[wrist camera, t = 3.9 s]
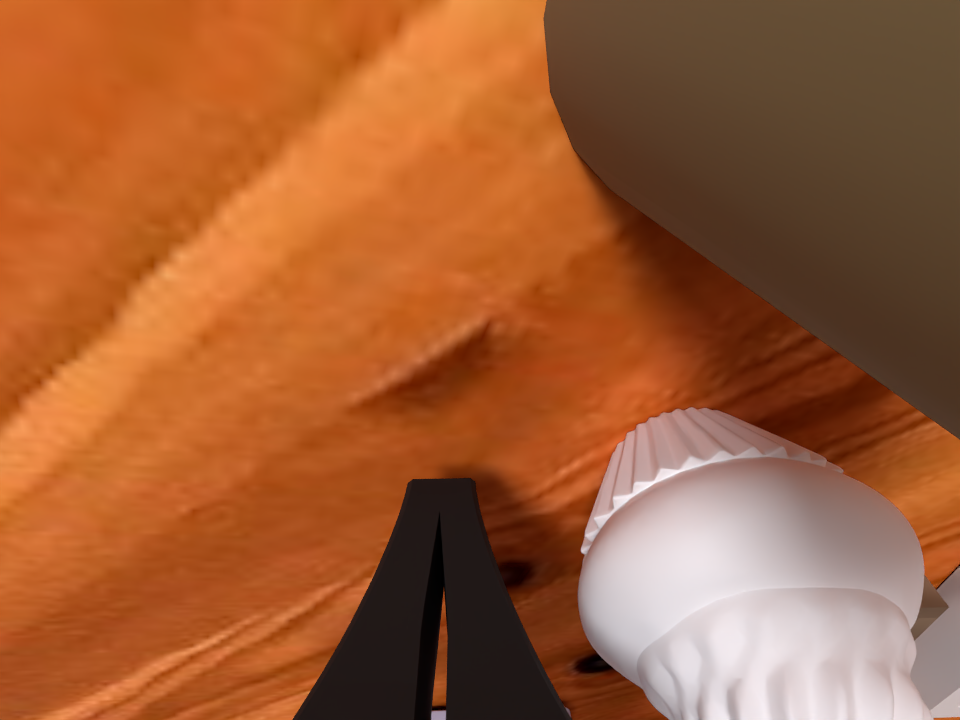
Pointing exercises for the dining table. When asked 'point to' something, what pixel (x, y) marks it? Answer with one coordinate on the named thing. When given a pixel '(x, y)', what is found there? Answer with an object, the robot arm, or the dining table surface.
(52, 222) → the dining table surface
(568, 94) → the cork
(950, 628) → the dish
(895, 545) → the muffin
